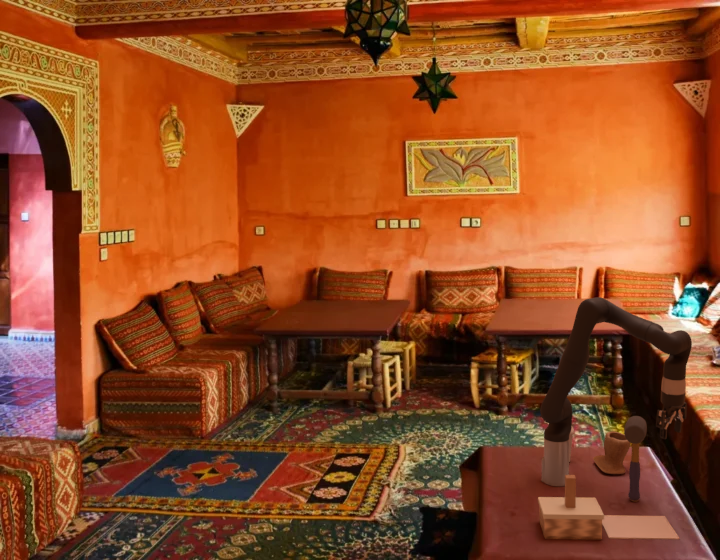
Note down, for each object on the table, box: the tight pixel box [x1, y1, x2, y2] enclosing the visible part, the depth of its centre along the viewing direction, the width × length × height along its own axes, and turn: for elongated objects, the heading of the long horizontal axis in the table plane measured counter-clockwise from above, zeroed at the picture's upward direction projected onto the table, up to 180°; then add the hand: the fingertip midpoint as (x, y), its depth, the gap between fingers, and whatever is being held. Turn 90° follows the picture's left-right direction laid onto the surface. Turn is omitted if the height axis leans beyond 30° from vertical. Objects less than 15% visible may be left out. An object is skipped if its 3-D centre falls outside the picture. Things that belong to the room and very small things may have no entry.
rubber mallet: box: [623, 415, 648, 503], centre depth 291 cm, size 12×8×30 cm, turn 158°
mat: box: [602, 514, 680, 540], centre depth 271 cm, size 22×17×1 cm
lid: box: [537, 474, 605, 520], centre depth 269 cm, size 19×14×12 cm
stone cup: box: [592, 431, 631, 475], centre depth 322 cm, size 15×12×15 cm
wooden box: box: [538, 508, 603, 541], centre depth 270 cm, size 18×13×7 cm
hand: (670, 435), depth 277 cm, fingers open, 8 cm apart
